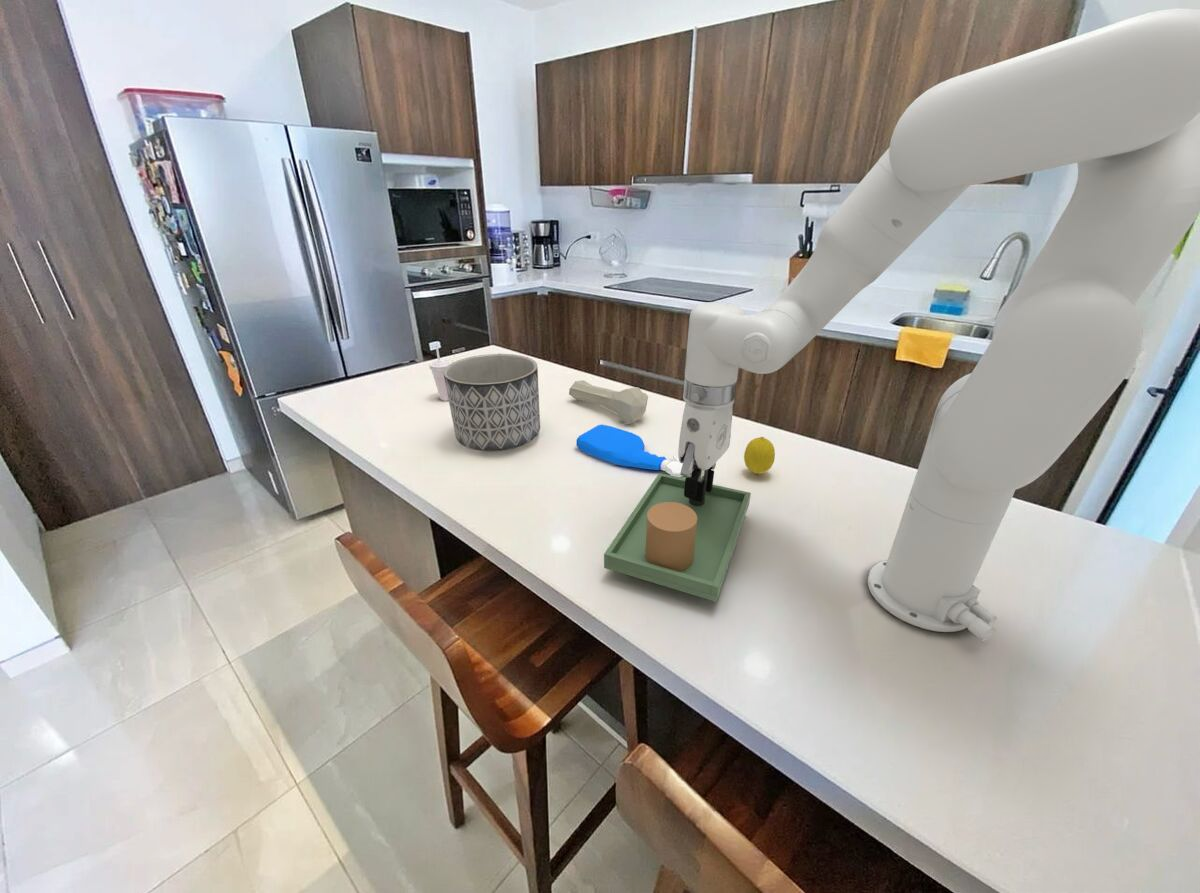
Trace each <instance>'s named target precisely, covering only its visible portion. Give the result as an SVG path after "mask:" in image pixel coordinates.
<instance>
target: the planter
mask: <svg viewBox="0 0 1200 893" xmlns="http://www.w3.org/2000/svg"><path fill="white" fill-rule="evenodd" d="M538 368H539V367H538V363H537V362H536V360H534V359H533V358H530V357H527V356H525V355H520V354H513V353H488V354H479V355H473V356H469V357H465V358H462V359H458V360H456V361H454V363H452V364H450V365H448V366H447V367H446V368H445V369H444V372H443V374H444V379H445V384H446V389H447V394H448V399H449V400H448V405H449V410H450V413H451V418H452V426H453V429H454V435H455V438H456V440H457V441H458V443H460V444H461V445H462V446H463V447H466V448H468V449H472V450H475V451H483V452H499V451H506V450H511V449H514V448H518V447H522V446H524V445H526V444H528V443H531V441H533V440H534V439H535V438H536V437H537V436H538V435H539V434H540V430H541V414H540V413H541V412H540V392H539V370H538Z"/></svg>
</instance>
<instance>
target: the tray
mask: <svg viewBox="0 0 1200 893" xmlns="http://www.w3.org/2000/svg"><path fill="white" fill-rule="evenodd" d="M692 469H694V470H697V471H698V472H699V468H698V467H695V466H693V468H692ZM707 475H708V469H707V470H705V471H704V478H703V480H705V489H704V497H703V501H702V502H698V501H695V500H692V499H689V498H687V497H685V496H684V488H685V477H675V476H671V475H670V474H665V473H661V472H659V473H658V474H657V475H656V477H655V479H654V480H653V481H652V483H651V484H650V485H649V487H648V488H647V490H646V492H645V493H644V494H643V496H642V498H640V500H639V502H638V503H637V505H636V506H635V508H634V509H633V510H632V512H631V514H630V515H629V517H628V518H627V520H626V521H625V523H624V524H623V525H622V527H621V529H620V530H619V532H618V533H617V534H616V536H615V537H614V539H613V540H612V542H611V543H610V544H609V546H608V547H607V549H606V550H605V551H604V553H603V569H606V570H610V571H613V572H617V573H620V574H624V575H627V576H630V577H634V578H636V579H639V580H643V581H645V582H650V583H653V584H657V585H659V586H662V587H666V588H670V589H672V590H676V591H679V592H682V593H686V594H689V595H693V596H696V597H699V598H703V599H706V600H709V601H712V602H718V598H719V596H720V593H721V589H722V587H723V584H724V581H725V578H726V574H727V573H728V569H729V566H730V563H731V560H732V557H733V554H734V552H735V548H736V545H737V542H738V540H739V537H740V533H741V531H742V527H743V524H744V521H745V519H746V515H747V512H748V509H749V507H750V502H751V495H752V493H751V492H750V491H744V490H740V489H736V488H732V487H726V486H721V485H717V484H713V486H712V490H711V492H706V484H707ZM663 502H676V503H681V504H684V505H686V506H688V507H690V508H691V509H692V510H694V512H695V513H696V515H697V527H696V538H695V548H694V558H693V563H692V564H691V566H690V567H688V568H687V569H685V570H683V571H680V572H678V571H674V570H671V569H667V568H664V567H660V566H657V565H653V564H650V563H648V561H647V560H646V556H645V552H646V527H647V512H648V510H649V509H650V508H651V507H652V506H654V505H656V504H659V503H663Z"/></svg>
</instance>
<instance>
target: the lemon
mask: <svg viewBox="0 0 1200 893" xmlns="http://www.w3.org/2000/svg"><path fill="white" fill-rule="evenodd" d="M775 458H776V452H775V446H774V444H773V443H772V442H771V440H769V439H768V438H765V437H764V436H760V437H755V438H753V439H752V440H750V441H749V442H748V443H747V445H746V447H745V450H744V454H743V460H744V465H745V466H746V468H747V469H748V470H749V471H750V472H752V473H754V475H759V474H763V473H766V472H768V471H769V470H771V469H772V467H773V464H774V462H775Z"/></svg>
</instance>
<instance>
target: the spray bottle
mask: <svg viewBox="0 0 1200 893" xmlns="http://www.w3.org/2000/svg"><path fill="white" fill-rule="evenodd" d="M575 445H576V447H577V448H578V450H580V451H581V452H583V453H585V454H587V455H589V456H591V457H594V458H596V459H599V460H601V461H605V462H607V463H610V464H613V465H617V466H622V467H626V468H629V467H632V468H638V469H645V470H654V471H663V472H665V473H667V474H668V475H671V476H675V477H680V478H683V476H682V475H680V472H681V469H682V465H683V463H680V461H679V458H678V456H676V455H675V454H673V455H672V458H673V460H672V461H671V460H669V459H667V458H666V457H665V456H658V455H657V454H654V453H651V452H649V451H645V443H644V440H643V438H641V437H640V435H637V434H635V433H634V432H631V431H629V430H624V429H621V428H618V427H615V426H612V425H607V424H597V425H596V426H594V427H592V428H591V429H589V430H587V431H585V432H584V433H582V434H580V435H578V437H577V438H576V443H575Z"/></svg>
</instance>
